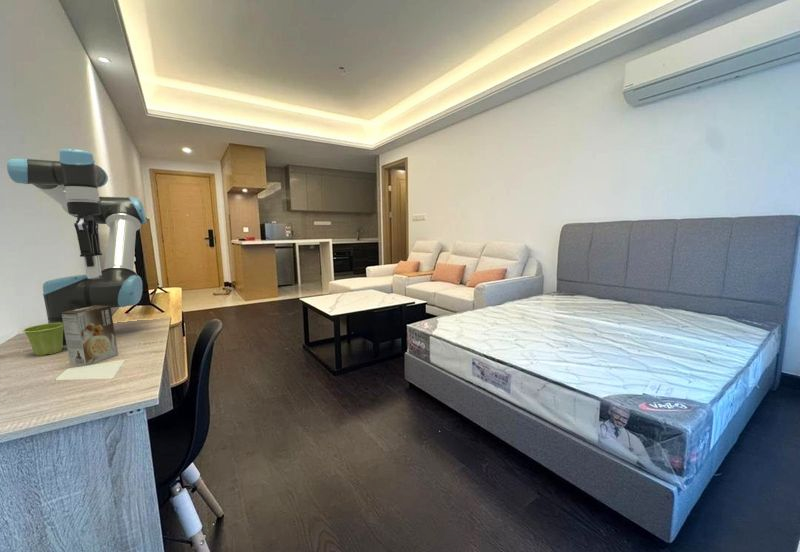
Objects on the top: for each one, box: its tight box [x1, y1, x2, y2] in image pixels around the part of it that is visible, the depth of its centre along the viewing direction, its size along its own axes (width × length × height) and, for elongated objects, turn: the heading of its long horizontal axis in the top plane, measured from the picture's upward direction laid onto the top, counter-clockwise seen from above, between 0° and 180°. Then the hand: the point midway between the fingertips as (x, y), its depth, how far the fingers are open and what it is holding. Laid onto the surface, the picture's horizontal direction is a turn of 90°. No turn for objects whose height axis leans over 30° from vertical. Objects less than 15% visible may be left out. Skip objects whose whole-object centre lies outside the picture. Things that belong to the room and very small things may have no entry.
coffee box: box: [61, 305, 119, 366], centre depth 98 cm, size 9×6×16 cm
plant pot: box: [22, 323, 64, 357], centre depth 105 cm, size 9×9×9 cm
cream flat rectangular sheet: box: [55, 359, 126, 381], centre depth 87 cm, size 18×13×1 cm
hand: (94, 276), depth 105 cm, fingers open, 2 cm apart
